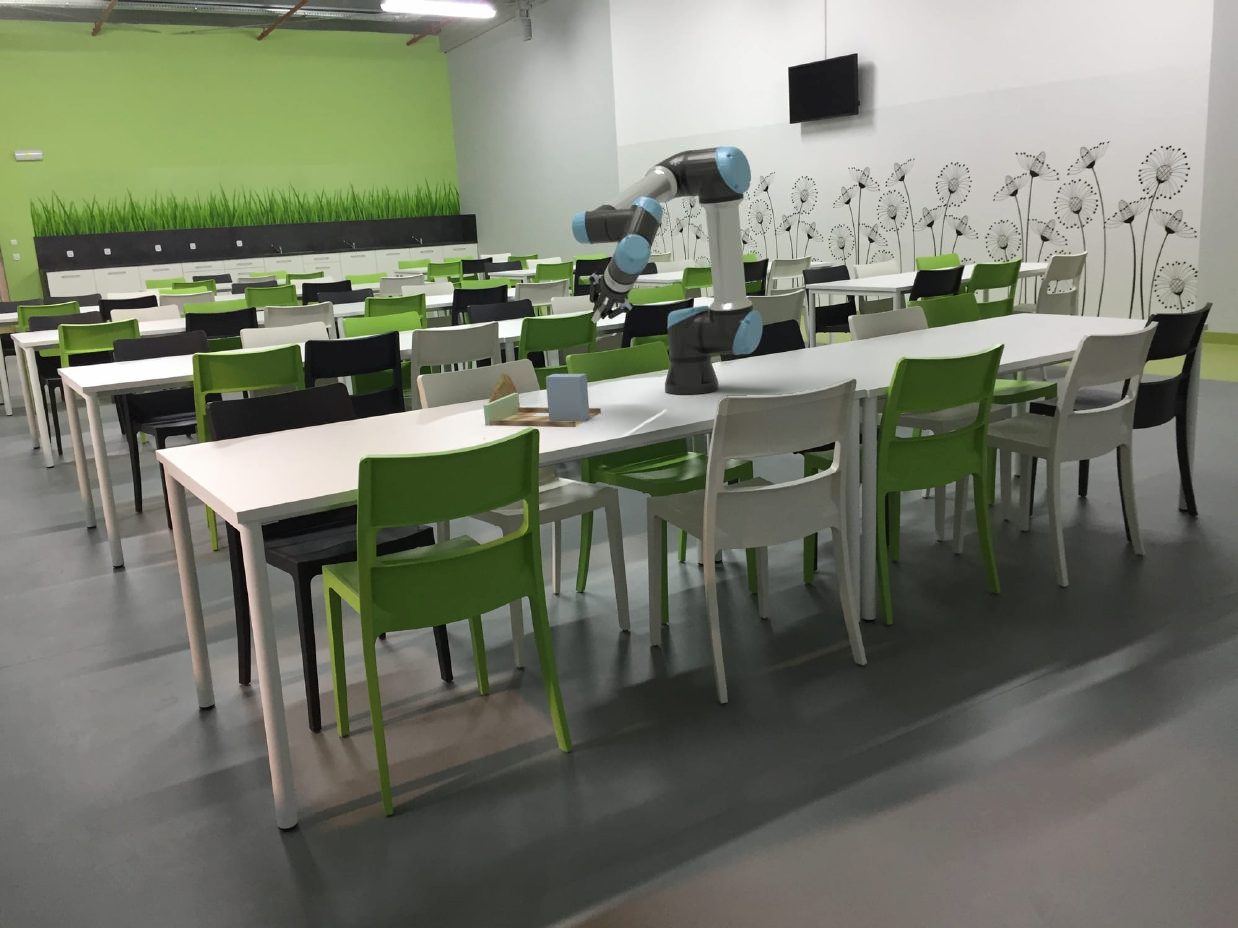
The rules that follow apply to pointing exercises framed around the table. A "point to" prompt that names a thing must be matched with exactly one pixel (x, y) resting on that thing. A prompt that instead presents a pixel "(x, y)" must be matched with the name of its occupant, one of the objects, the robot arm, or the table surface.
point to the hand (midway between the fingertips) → (596, 318)
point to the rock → (503, 388)
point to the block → (567, 397)
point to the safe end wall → (501, 408)
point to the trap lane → (538, 418)
